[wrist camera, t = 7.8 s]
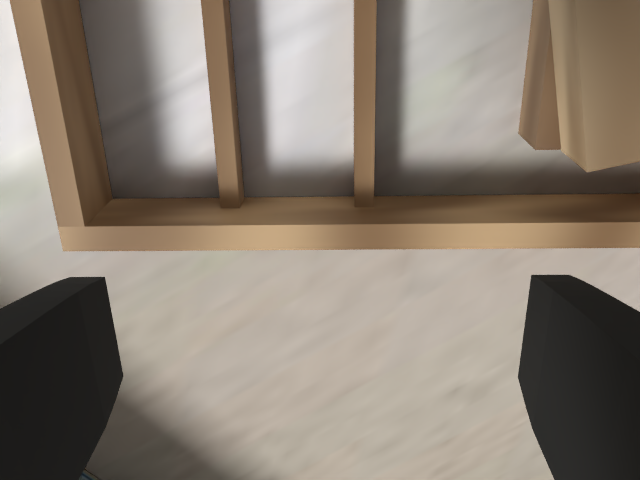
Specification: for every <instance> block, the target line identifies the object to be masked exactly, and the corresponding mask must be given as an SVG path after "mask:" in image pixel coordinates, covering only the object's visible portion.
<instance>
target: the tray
mask: <svg viewBox="0 0 640 480" xmlns="http://www.w3.org/2000/svg"><path fill="white" fill-rule="evenodd" d="M10 4H11V9H12V13H13V18H14V23H15V27H16V32H17V37H18V41H19V46H20V51H21V55H22V60H23V65H24V70H25V74H26V79H27V84H28V88H29V93H30V98H31V102H32V107H33V112H34V116H35V121H36V126H37V131H38V135H39V140H40V145H41V149H42V154H43V159H44V163H45V168H46V173H47V177H48V182H49V187H50V191H51V196H52V201H53V206H54V210H55V215H56V220H57V224H58V229H59V234H60V238H61V243H62V248H63V251H187V250H346V249H505V248H640V194H541V195H440V196H374V156H375V84H376V11H377V0H354V196H338V197H244V186H243V173H242V161H241V148H240V135H239V122H238V109H237V96H236V83H235V70H234V57H233V44H232V32H231V19H230V6H229V0H201V6H202V17H203V27H204V38H205V49H206V59H207V70H208V80H209V91H210V101H211V112H212V122H213V133H214V143H215V154H216V164H217V175H218V185H219V196H220V198H134V199H113V198H112V193H111V187H110V181H109V175H108V169H107V163H106V157H105V152H104V146H103V140H102V134H101V128H100V122H99V116H98V110H97V105H96V99H95V93H94V87H93V81H92V75H91V69H90V64H89V58H88V52H87V46H86V40H85V34H84V28H83V23H82V17H81V11H80V5H79V0H10Z"/></svg>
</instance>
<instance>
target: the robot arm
mask: <svg viewBox="0 0 640 480" xmlns="http://www.w3.org/2000/svg"><path fill="white" fill-rule="evenodd" d="M122 379H123V372H122V366H121V361H120V356H119V350H118V345H117V340H116V334H115V329H114V324H113V318H112V313H111V307H110V302H109V297H108V291H107V286H106V281H105V277H69V278H66V279H63V280H60V281H58V282H55V283H53V284H51V285H48V286H46V287H44V288H42V289H40V290H37V291H35V292H33V293H31V294H29V295H27V296H25V297H23V298H21V299H19V300H17V301H15V302H13V303H11V304H9V305H7V306H5V307H3V308H1V309H0V480H79V478H80V476H81V474H82V473H83V471H84V469H85V467H86V465H87V463H88V461H89V459H90V457H91V455H92V453H93V451H94V449H95V447H96V445H97V443H98V441H99V439H100V437H101V435H102V433H103V431H104V429H105V427H106V425H107V422H108V419H109V417H110V414H111V411H112V409H113V406H114V403H115V400H116V397H117V394H118V391H119V388H120V385H121V382H122ZM518 379H519V383H520V386H521V390H522V394H523V398H524V401H525V405H526V409H527V412H528V415H529V419H530V422H531V425H532V429H533V431H534V434H535V436H536V438H537V441H538V443H539V445H540V448H541V450H542V452H543V455H544V457H545V459H546V461H547V464H548V466H549V468H550V471H551V473H552V475H553V477H554V480H640V312H639V311H637V310H635V309H633V308H632V307H630V306H628V305H626V304H625V303H623V302H621V301H619V300H617V299H616V298H614V297H612V296H610V295H609V294H607V293H605V292H603V291H601V290H599V289H598V288H596V287H594V286H592V285H590V284H588V283H586V282H584V281H582V280H580V279H578V278H575V277H573V276H570V275H531V282H530V290H529V298H528V305H527V313H526V320H525V328H524V335H523V343H522V351H521V358H520V366H519V373H518Z"/></svg>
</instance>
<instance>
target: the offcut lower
mask: <svg viewBox="0 0 640 480" xmlns="http://www.w3.org/2000/svg"><path fill="white" fill-rule="evenodd" d="M518 134H519V135H520V136H521V137H522V138H523V139H525V140H526V141H527V142H528V143H529V144H530V145H531V146H532V147H533V148H534V149H535V150H561V142H560V130H559V118H558V107H557V95H556V83H555V72H554V60H553V48H552V37H551V25H550V13H549V2H548V0H533V9H532V17H531V26H530V35H529V44H528V53H527V62H526V71H525V79H524V88H523V97H522V106H521V115H520V124H519V132H518Z"/></svg>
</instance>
